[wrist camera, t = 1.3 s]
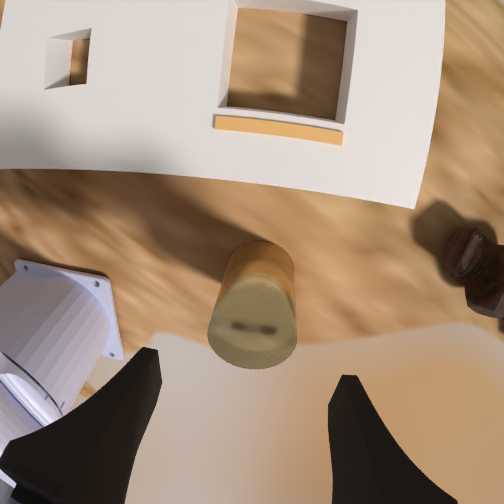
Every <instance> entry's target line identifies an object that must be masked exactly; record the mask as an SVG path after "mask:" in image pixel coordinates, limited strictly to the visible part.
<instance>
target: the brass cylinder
mask: <svg viewBox="0 0 504 504" xmlns="http://www.w3.org/2000/svg"><path fill="white" fill-rule="evenodd" d="M207 334H208V341H209V343H210V346H211V347H212V349H213V350H214V352H215V353H216V354H217V355H218V356H219V357H221V358H222V359H223V360H225V361H226V362H228V363H230V364H232V365H235V366H238V367H241V368H247V369H265V368H270V367H272V366H275V365H278V364H280V363H282V362H283V361H285V360H286V359H287V358H288V357H289V356H290V355H291V354H292V353H293V351H294V349H295V347H296V343H297V325H296V298H295V275H294V265H293V261H292V259H291V257H290V256H289V254H288V253H287V252H286V251H285V250H284V249H283V248H281V247H280V246H278V245H276V244H274V243H271V242H267V241H252V242H248V243H246V244H243V245H242V246H240V247H239V248H237V249H236V250H235V251H234V252H233V254H232V255H231V257H230V259H229V262H228V265H227V268H226V271H225V275H224V278H223V281H222V284H221V287H220V291H219V294H218V297H217V300H216V304H215V307H214V310H213V314H212V317H211V320H210V323H209V327H208V332H207Z"/></svg>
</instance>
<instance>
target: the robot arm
mask: <svg viewBox="0 0 504 504" xmlns="http://www.w3.org/2000/svg"><path fill="white" fill-rule="evenodd" d="M14 265H15V269H16V272H15V273H14V274H13V275H12V276H11V277H10V278H9V279H8V280H6V281H5V282H4V283H3V284H2V285H1V286H0V504H124V503H125V498H126V493H127V488H128V484H129V479H130V475H131V471H132V468H133V464H134V460H135V456H136V453H137V450H138V447H139V444H140V442H141V440H142V437H143V435H144V433H145V430H146V428H147V425H148V423H149V420H150V418H151V415H152V413H153V411H154V408H155V406H156V403H157V399H158V396H159V392H160V388H161V385H162V378H161V371H160V364H159V356H158V350H155V349H151V348H146V347H142V348H141V349H140V350H139V351H138V352H137V353H136V354H135V355H134V356H133V358H132V359H131V360H130V361H129V362H128V363H127V364H126V365H125V366H124V367H123V368H122V369H121V370H120V371H119V372H118V373H117V374H116V375H115V376H114V377H113V378H112V379H111V380H110V381H109V382H107V384H105V385H104V386H103V387H102V388H101V389H100V390H98V391H97V392H96V393H95V394H94V395H92V396H91V397H90V398H89V399H87V400H86V401H85V402H84V403H82V404H81V405H79V406H78V407H77V408H75V409H74V410H72V411H71V412H69V410H70V408H71V406H72V405H73V403H74V401H75V399H76V397H77V395H78V394H79V392H80V390H81V388H82V386H83V385H84V383H85V381H86V379H87V378H88V376H89V374H90V372H91V370H92V369H93V367H94V365H95V363H96V362H97V360H98V358H99V357H100V355H102V356H106V357H109V358H113V359H117V360H122V359H123V357H124V352H123V347H122V343H121V338H120V333H119V328H118V323H117V318H116V313H115V307H114V301H113V295H112V289H111V283H110V281H109V279H108V278H106V277H104V276H99V275H94V274H89V273H83V272H78V271H73V270H68V269H64V268H59V267H54V266H49V265H44V264H40V263H35V262H31V261H26V260H22V259H17V260H16V261H15V262H14ZM96 281H97V282H98V283H99V284H98V283H97V282H96ZM68 412H69V413H68ZM328 432H329V443H330V451H331V462H332V472H333V493H332V504H458V502H457V500H456V499H454V498H453V497H451V496H450V495H449V494H447V493H446V492H444V491H443V490H442V489H440V488H439V487H438V486H437V485H436V484H435V483H433V482H432V481H431V480H430V479H429V478H428V477H427V476H426V475H425V474H424V473H422V471H421V470H420V469H419V468H418V467H417V466H416V465H415V464H414V463H413V462H412V461H411V460H410V459H409V457H408V456H407V455H406V454H405V453H404V451H403V450H402V449H401V448H400V446H399V445H398V444H397V442H396V441H395V439H394V438H393V437H392V435H391V434H390V432H389V431H388V429H387V428H386V426H385V425H384V423H383V421H382V420H381V418H380V416H379V415H378V413H377V411H376V410H375V408H374V406H373V405H372V402H371V401H370V399H369V397H368V395H367V393H366V392H365V390H364V388H363V386H362V384H361V382H360V380H359V378H358V377H357V376H356V375H342V376H341V378H340V381H339V383H338V385H337V387H336V389H335V392H334V394H333V396H332V398H331V401H330V402H329V405H328Z"/></svg>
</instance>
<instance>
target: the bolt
mask: <svg viewBox="0 0 504 504" xmlns="http://www.w3.org/2000/svg"><path fill="white" fill-rule="evenodd" d="M443 268H444V270H445V271H446V272H447V273H448V274H449V275H450V276H452V277H454V278H455V279H456V280H457V281H458V282H460V283H461V284H462V285H464V286H465V296H466V301H467V306H468V307H469V308H471V309H472V310H473V311H475V312H476V313H479V314H482V315H485V316H488V317H493V318H502V319H503V320H504V245H493V244H492V243H491V242H490V240H488V239H487V237H486V236H484V235H483V234H482V232H481V231H480V230H479V229H478V230H476V228H475V227H469V226H468V227H463V228H461V229H459V230H458V231H457V232H456V233H455V234H454V236H453V237H452V238H451V239H450V241H449V242H448V244H447V246H446V249H445V253H444V258H443Z"/></svg>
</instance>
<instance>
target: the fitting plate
mask: <svg viewBox="0 0 504 504" xmlns="http://www.w3.org/2000/svg"><path fill="white" fill-rule="evenodd" d="M238 8H253V9H266V10H277V11H286V12H294V13H301V14H308V15H314V16H320V17H326V18H331V19H336V20H341V21H346V22H347V30H346V39H345V48H344V57H343V66H342V74H341V82H340V89H339V97H338V104H337V111H336V118H335V120H330V119H324V118H318V117H312V116H306V115H300V114H293V113H285V112H278V111H270V110H261V109H251V108H241V107H229V106H227V99H228V89H229V80H230V70H231V61H232V52H233V43H234V34H235V26H236V18H237V10H238ZM444 28H445V0H6V2H5V7H4V12H3V18H2V24H1V30H0V169H77V170H104V171H124V172H141V173H155V174H169V175H181V176H192V177H203V178H213V179H222V180H232V181H240V182H249V183H257V184H265V185H273V186H280V187H288V188H295V189H302V190H309V191H315V192H322V193H328V194H334V195H340V196H346V197H352V198H358V199H364V200H369V201H375V202H380V203H385V204H391V205H396V206H401V207H406V208H411V209H415V205H416V201H417V198H418V194H419V190H420V186H421V182H422V178H423V173H424V169H425V164H426V160H427V155H428V150H429V146H430V140H431V135H432V130H433V124H434V118H435V112H436V106H437V99H438V92H439V84H440V76H441V67H442V56H443V44H444ZM86 38H90V47H89V57H88V69H87V84H81V85H72V86H69V80H70V65H71V54H72V44H73V41H76V40H81V39H86Z"/></svg>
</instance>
